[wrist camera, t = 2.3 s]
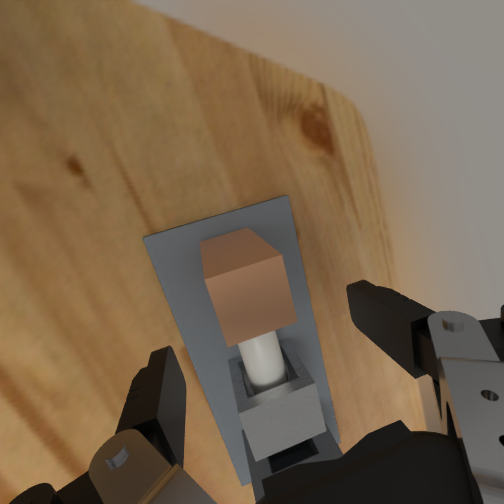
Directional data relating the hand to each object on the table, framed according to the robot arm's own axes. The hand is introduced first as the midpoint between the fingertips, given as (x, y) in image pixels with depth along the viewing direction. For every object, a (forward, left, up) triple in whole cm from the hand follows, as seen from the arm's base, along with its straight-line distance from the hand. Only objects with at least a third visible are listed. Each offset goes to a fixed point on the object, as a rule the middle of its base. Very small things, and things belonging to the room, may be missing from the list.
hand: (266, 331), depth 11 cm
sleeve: (+12, 0, -11) cm, 16 cm away
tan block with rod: (+6, 0, -11) cm, 13 cm away
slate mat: (+11, 0, -12) cm, 16 cm away
